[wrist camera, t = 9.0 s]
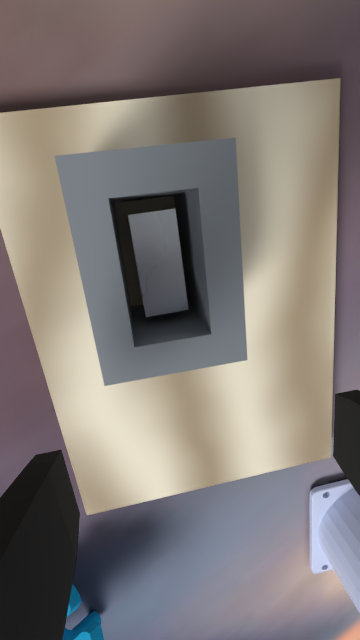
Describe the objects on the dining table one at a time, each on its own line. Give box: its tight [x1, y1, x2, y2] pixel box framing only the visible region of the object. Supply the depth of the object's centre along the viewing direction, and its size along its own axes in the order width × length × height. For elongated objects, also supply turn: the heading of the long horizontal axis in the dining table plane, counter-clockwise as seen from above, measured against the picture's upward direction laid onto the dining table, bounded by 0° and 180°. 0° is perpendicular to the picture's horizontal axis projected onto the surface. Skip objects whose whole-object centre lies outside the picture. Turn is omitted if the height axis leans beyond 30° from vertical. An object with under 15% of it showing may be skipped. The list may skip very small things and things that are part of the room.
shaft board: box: [0, 78, 340, 515], centre depth 17 cm, size 15×20×1 cm
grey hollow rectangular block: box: [55, 138, 247, 386], centre depth 13 cm, size 5×7×5 cm
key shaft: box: [127, 209, 188, 317], centre depth 13 cm, size 2×4×4 cm, turn 8°
